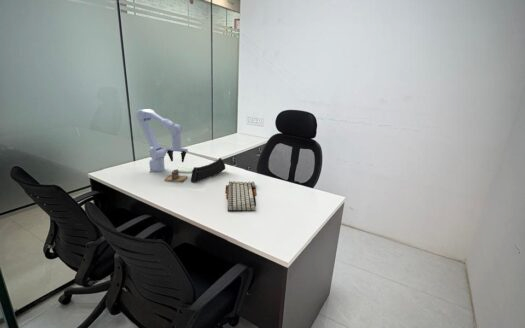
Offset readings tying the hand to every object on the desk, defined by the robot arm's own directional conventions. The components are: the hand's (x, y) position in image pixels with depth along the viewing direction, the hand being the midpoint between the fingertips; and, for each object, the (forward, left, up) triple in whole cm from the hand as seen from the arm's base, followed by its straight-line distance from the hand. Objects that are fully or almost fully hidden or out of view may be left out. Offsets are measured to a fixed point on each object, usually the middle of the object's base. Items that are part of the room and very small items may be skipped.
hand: (177, 161), depth 181 cm
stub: (+3, -11, -9) cm, 15 cm away
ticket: (+3, +5, -9) cm, 11 cm away
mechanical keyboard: (+49, -29, -10) cm, 58 cm away
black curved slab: (+23, -2, -10) cm, 25 cm away
